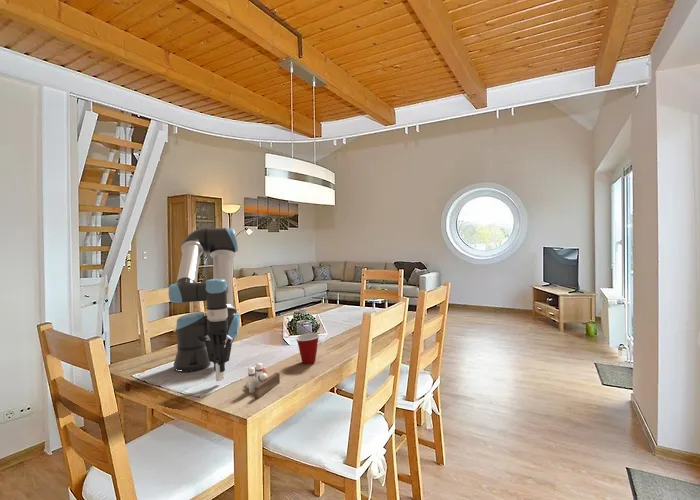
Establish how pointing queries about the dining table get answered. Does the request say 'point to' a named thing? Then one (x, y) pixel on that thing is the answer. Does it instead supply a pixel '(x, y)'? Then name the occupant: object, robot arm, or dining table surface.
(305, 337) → the plastic cup
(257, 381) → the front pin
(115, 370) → the dining table surface
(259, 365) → the pin
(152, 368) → the dining table surface
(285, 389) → the dining table surface
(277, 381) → the stopper wall
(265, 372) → the ball
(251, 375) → the pin
